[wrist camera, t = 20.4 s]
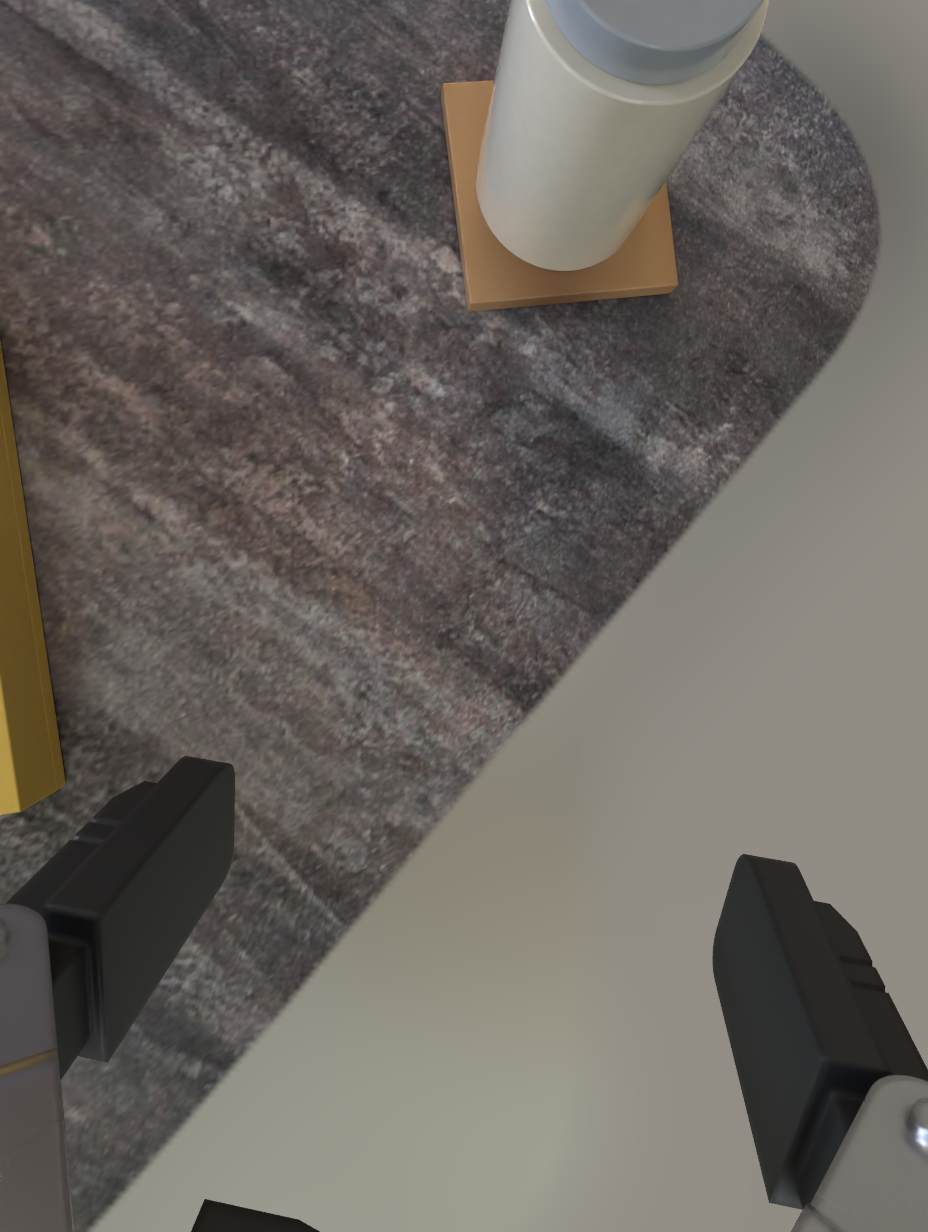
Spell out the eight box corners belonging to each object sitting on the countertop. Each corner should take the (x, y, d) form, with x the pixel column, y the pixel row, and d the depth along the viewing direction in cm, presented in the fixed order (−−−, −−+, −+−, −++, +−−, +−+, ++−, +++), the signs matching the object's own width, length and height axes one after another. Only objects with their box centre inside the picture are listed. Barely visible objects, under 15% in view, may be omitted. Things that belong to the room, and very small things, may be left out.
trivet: (646, 84, 27) (654, 69, 27) (670, 294, 28) (679, 285, 27) (440, 97, 27) (442, 82, 26) (467, 312, 27) (470, 303, 26)
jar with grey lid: (655, 120, 27) (820, -175, 17) (628, 287, 27) (776, 96, 17) (490, 81, 26) (555, -250, 16) (462, 252, 26) (510, 31, 16)
